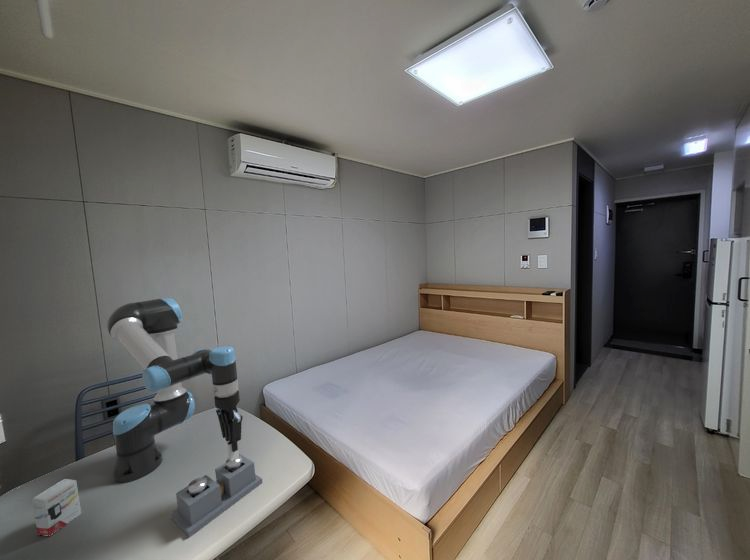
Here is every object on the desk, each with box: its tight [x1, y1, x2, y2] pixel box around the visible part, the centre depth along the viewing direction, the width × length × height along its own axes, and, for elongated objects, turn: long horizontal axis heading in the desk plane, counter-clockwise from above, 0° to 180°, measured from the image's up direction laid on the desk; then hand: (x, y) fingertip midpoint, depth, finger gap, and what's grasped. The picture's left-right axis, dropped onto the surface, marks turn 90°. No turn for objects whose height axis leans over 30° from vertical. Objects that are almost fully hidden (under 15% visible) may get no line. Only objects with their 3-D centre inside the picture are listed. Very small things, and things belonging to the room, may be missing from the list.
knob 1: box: [187, 476, 207, 498], centre depth 94 cm, size 5×5×8 cm
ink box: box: [31, 478, 82, 536], centre depth 93 cm, size 9×5×12 cm, turn 168°
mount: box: [170, 453, 263, 538], centre depth 99 cm, size 12×24×8 cm, turn 145°
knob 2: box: [225, 454, 243, 473], centre depth 104 cm, size 5×5×8 cm
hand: (234, 458), depth 103 cm, fingers closed
